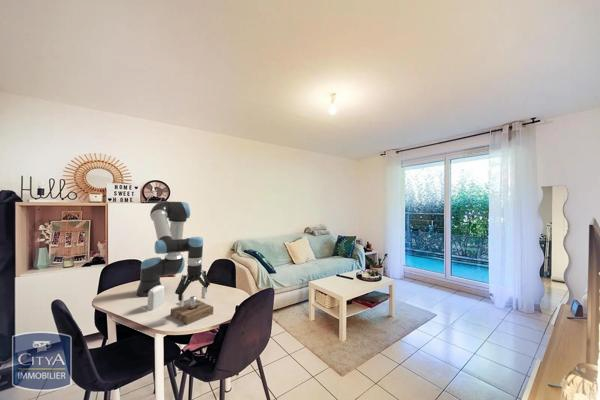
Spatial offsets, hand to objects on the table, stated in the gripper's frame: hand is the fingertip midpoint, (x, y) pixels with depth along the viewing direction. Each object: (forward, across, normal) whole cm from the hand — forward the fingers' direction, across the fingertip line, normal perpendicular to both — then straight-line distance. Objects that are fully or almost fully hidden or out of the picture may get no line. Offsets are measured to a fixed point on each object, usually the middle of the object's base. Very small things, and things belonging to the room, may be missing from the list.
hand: (192, 302), depth 134 cm
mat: (+7, +8, +15) cm, 18 cm away
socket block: (+7, 0, 0) cm, 7 cm away
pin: (+7, 0, 0) cm, 7 cm away
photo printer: (+8, -7, +26) cm, 28 cm away
